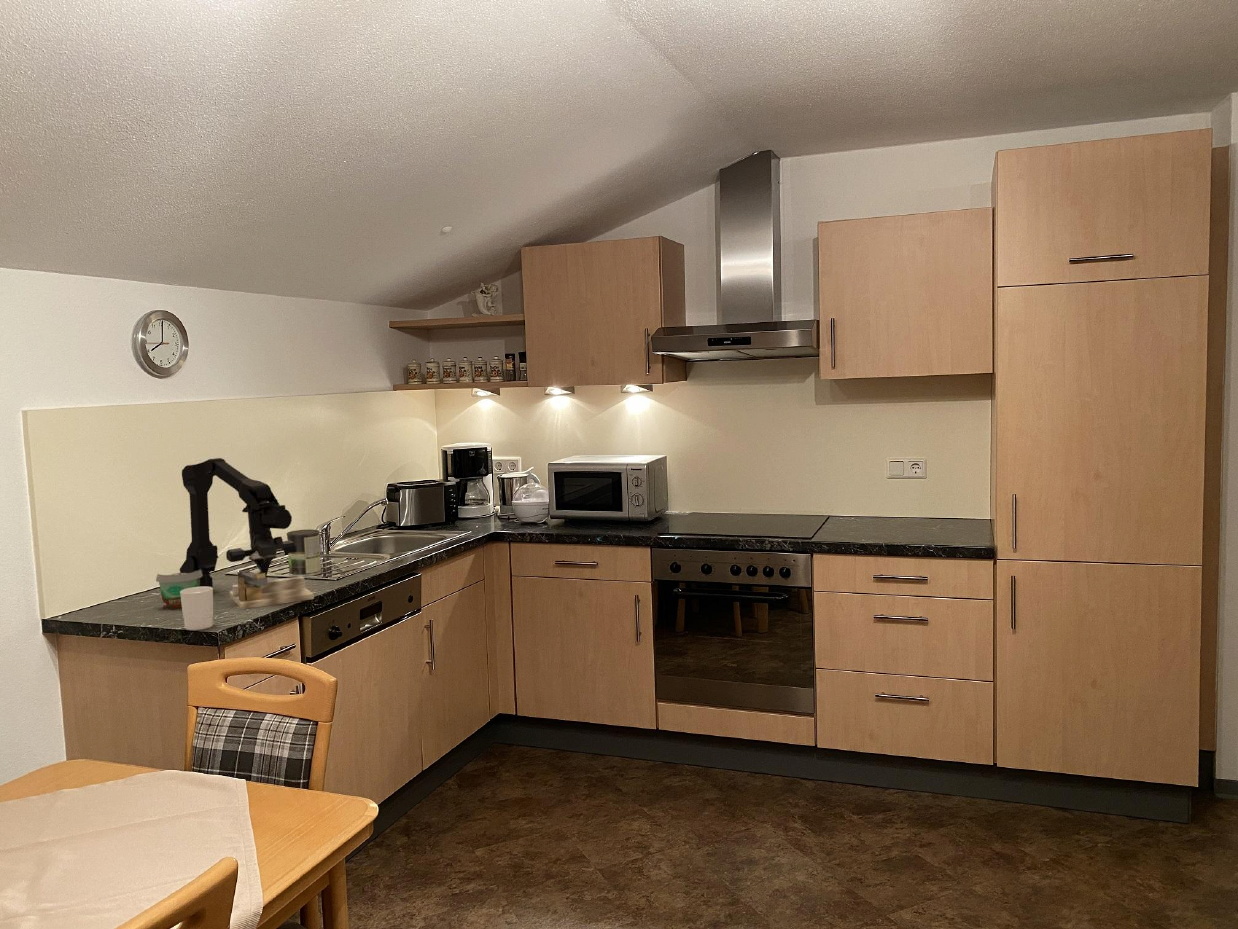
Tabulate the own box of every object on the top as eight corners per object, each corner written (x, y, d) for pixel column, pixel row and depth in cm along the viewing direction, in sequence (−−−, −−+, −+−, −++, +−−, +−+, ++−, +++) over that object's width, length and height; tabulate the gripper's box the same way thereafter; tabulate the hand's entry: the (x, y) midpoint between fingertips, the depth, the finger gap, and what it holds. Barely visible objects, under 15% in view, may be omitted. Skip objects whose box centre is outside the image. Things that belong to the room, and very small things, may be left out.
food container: (157, 612, 268) (154, 577, 267) (158, 607, 274) (155, 573, 273) (204, 606, 273) (202, 572, 272) (204, 602, 279) (202, 568, 278)
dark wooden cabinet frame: (237, 579, 284) (236, 567, 284) (248, 577, 286) (247, 566, 286) (256, 586, 272) (256, 574, 272) (267, 585, 275) (267, 573, 274)
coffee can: (289, 578, 310) (287, 535, 309) (288, 572, 320) (286, 531, 318) (322, 575, 314) (320, 532, 313) (320, 569, 324) (318, 528, 322)
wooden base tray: (241, 609, 269) (239, 581, 268) (229, 596, 286) (227, 570, 285) (313, 599, 279) (312, 572, 278) (297, 587, 296) (296, 561, 295)
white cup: (197, 622, 255) (194, 586, 254) (222, 624, 253) (219, 587, 252) (175, 630, 248) (173, 592, 247) (201, 631, 245) (198, 593, 244)
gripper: (232, 536, 264) (237, 590, 266) (300, 526, 275) (305, 579, 277) (223, 530, 274) (228, 583, 275) (289, 521, 284) (294, 572, 286)
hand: (264, 579), depth 278 cm, fingers closed
